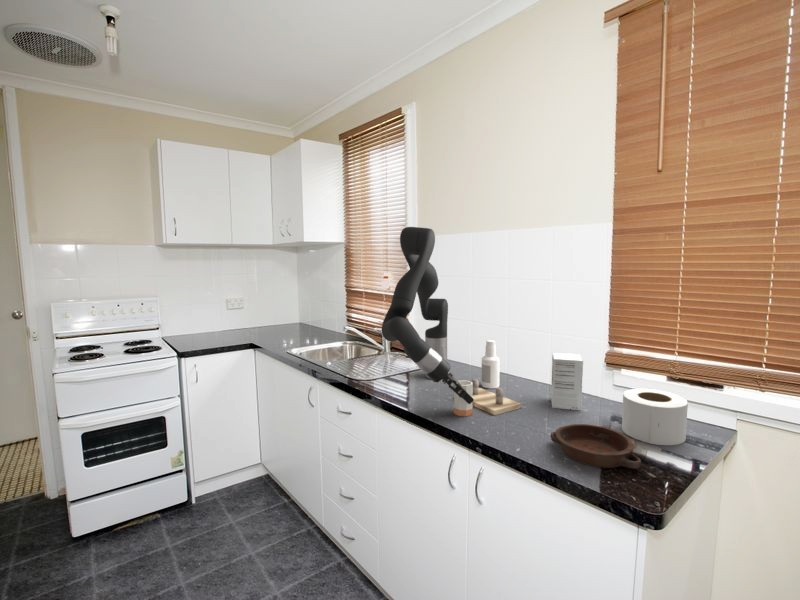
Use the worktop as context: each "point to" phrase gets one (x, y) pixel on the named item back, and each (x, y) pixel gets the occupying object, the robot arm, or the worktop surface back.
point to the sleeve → (459, 403)
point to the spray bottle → (490, 366)
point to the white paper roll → (654, 416)
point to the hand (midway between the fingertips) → (468, 398)
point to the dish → (596, 446)
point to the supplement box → (566, 381)
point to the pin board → (492, 400)
